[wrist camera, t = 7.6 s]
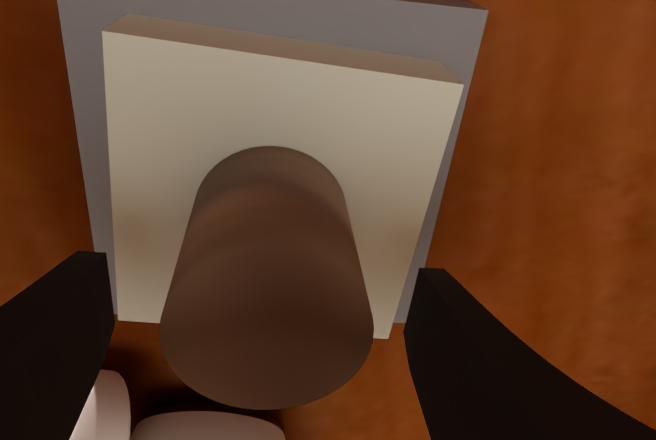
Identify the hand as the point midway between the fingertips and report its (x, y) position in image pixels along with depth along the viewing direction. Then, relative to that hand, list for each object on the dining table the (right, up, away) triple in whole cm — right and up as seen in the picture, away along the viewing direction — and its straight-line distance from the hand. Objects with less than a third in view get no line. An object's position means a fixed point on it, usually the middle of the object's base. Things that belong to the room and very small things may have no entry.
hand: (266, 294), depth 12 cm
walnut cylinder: (0, +2, +3) cm, 3 cm away
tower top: (0, +3, +5) cm, 6 cm away
